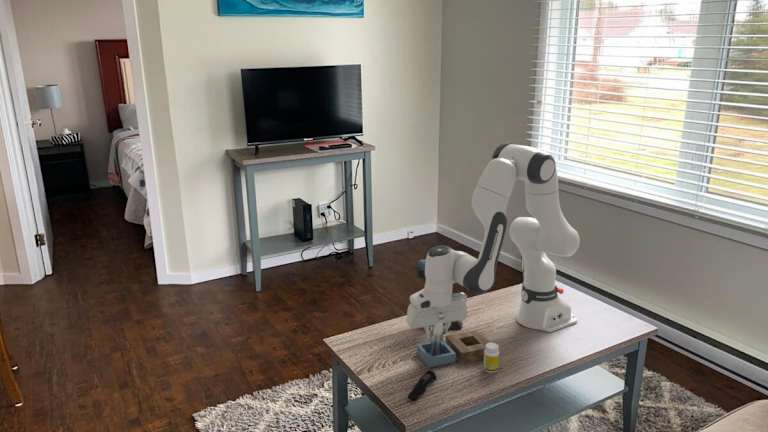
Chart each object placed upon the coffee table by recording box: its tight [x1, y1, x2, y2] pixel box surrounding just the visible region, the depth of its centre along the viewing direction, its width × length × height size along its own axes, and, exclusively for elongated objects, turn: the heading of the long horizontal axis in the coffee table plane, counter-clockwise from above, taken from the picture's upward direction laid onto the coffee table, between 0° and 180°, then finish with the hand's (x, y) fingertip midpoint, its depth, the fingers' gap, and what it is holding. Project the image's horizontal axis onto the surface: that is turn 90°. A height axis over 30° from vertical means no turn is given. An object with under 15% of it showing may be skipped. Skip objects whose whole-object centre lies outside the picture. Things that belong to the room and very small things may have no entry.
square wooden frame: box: [444, 329, 491, 365], centre depth 193 cm, size 12×12×4 cm
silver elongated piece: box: [429, 312, 445, 356], centre depth 186 cm, size 4×7×16 cm, turn 21°
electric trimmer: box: [406, 369, 437, 401], centre depth 173 cm, size 4×16×3 cm, turn 151°
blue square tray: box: [416, 340, 456, 370], centre depth 189 cm, size 10×10×4 cm
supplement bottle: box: [482, 342, 500, 374], centre depth 182 cm, size 5×5×8 cm
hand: (436, 335), depth 187 cm, fingers closed on silver elongated piece, 4 cm apart
